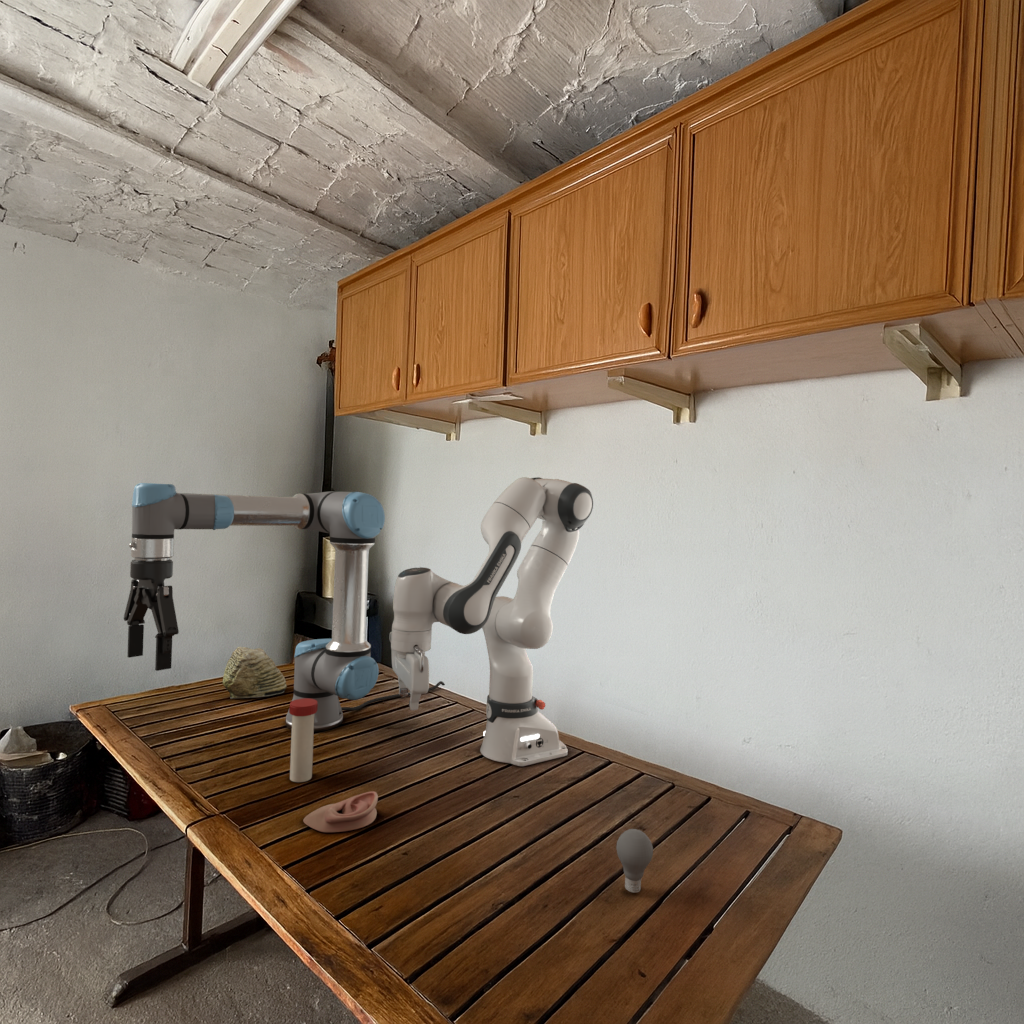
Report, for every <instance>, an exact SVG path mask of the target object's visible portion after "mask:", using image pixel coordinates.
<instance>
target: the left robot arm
mask: <svg viewBox="0 0 1024 1024" xmlns="http://www.w3.org/2000/svg"><path fill="white" fill-rule="evenodd" d="M385 515H386V513H385V511H384V508H383V505H382V503H381V502H380V501H379V500H378V498H377V497H375V495H373V494H370V493H367V492H363V491H362V492H361V491H337V490H336V491H335V490H333V491H332V490H330V491H321V492H311V493H295V494H294V495H293V496H276V495H275V496H274V495H273V496H272V495H248V494H247V495H246V494H244V495H243V494H220V493H219V494H218V493H217V494H216V493H215V494H214V493H189V492H187V493H186V492H177V491H176V486H175V485H174V484H173V483H152V482H139V483H137V484H136V485H135V486H134V488H133V492H132V501H131V520H132V521H131V542H130V543H128V547H129V548H130V549H131V550H130V556H131V558H133V559H132V560H131V561H130V567H129V568H130V571H129V574H130V575H129V576H130V578H131V581H130V590H129V594H128V598H127V603H126V607H125V610H124V615H123V621H124V622H126V624H127V626H128V629H127V630H128V631H127V658H135V657H142V656H144V635H145V634H144V630H145V625H144V624H145V623H146V621H145V619H144V618H145V616H146V615H147V612H148V609H149V610H151V613H152V618H153V620H154V624H155V627H156V631H157V633H156V635H155V636H154V638H155V661H154V663H155V665H154V668H155V669H154V670H155V671H157V672H159V671H164V670H169V669H172V659H173V657H172V655H173V637H175V636H176V635H179V632H180V631H179V625H178V619H177V615H176V614H177V613H176V609H175V603H174V597H173V595H174V593H173V585H165V580H167V579H171V578H172V577H173V575H174V573H173V572H174V561H173V560H172V559H171V558H173V557H174V554H175V553H174V552H175V530H213V531H215V530H224V529H228V528H230V526H233V527H234V526H237V527H238V526H240V527H243V526H246V527H247V526H249V527H250V526H258V527H259V526H268V527H269V526H276V527H277V526H282V527H284V526H285V527H286V526H287V527H288V526H289V527H290V526H291V527H293V528H294V529H296V530H308V531H309V530H310V531H316V532H319V533H325V534H329V544H330V545H331V546H332V547H333V548H334V550H335V551H334V572H333V573H334V577H333V599H332V625H331V626H332V627H331V638H317V639H308V640H304V641H300V642H299V643H297V645H296V646H295V650H294V655H293V657H294V672H293V673H294V674H293V695H292V696H293V697H292V699H291V701H293V700H297V699H303V698H309V699H314V700H317V704H318V708H317V712H316V713H315V714H314V733H316V732H325V731H329V730H332V729H335V728H337V727H339V726H340V725H342V723H343V722H344V714H343V711H344V712H345V711H349V712H354V711H358V710H360V709H362V708H364V707H365V706H367V705H370V704H372V703H375V702H380V701H385V700H390V699H397V698H402V697H401V696H400V695H399V693H396V694H390V695H385V696H380V697H376V698H372V699H370V700H366V701H364V702H363V703H361V704H360V705H357V706H341V702H340V699H339V698H341V699H342V700H343V699H344V700H348V701H349V700H350V701H357V700H360V699H362V698H364V697H365V696H367V695H368V694H370V692H371V690H372V689H374V687H375V685H376V683H377V682H378V678H379V674H380V672H379V671H380V670H379V669H380V668H379V665H378V663H377V662H376V660H375V659H374V657H371V652H372V649H371V648H372V644H371V643H370V642H368V640H367V639H366V631H367V607H368V606H367V605H368V604H367V602H368V582H369V581H368V579H369V555H370V553H369V552H370V550H371V548H372V547H374V545H375V544H376V536H378V535H379V534H380V533H381V530H383V528H384V526H385V522H386V521H385V520H386V516H385ZM445 685H446V684H445V682H444V681H442V680H440V681H438V682H437V683H436V684H435V685H434V686H432V687H431V686H430V687H429V689H428V692H431V691H433V690H436V689H437V688H438V687H440V686H445ZM408 696H411V695H410V691H408ZM408 696H407V697H408ZM285 726H286V728H287V729H289V730H291V729H292V715H291V714H290V713H289V709H288V711H287V713H286V715H285Z"/></svg>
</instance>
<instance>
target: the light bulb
mask: <svg viewBox="0 0 1024 1024" xmlns="http://www.w3.org/2000/svg"><path fill="white" fill-rule="evenodd" d="M615 849H616V854H617V857H618V859H619V861H620V863H621V865H622V867H623V873H624V874H623V875H624V876H625V878H624V888H625V890H627V891H628V892H630V893H634V894H635V893H639V892H640V891H641V889H642V887H641V886H642V879H643V877H644V875H645V871H646V868H647V867H648V866H649V864H650V863H651V861H652V859H653V855H654V847H653V843H652V841H651V838H649V836H648V835H647V834H646V833H645V832H643V831H642V830H641V829H636V828H629V829H627V830H625V831H623V832H622V833H621V834H620V835H619V837H618V839H617V841H616V847H615Z"/></svg>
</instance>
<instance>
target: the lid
mask: <svg viewBox="0 0 1024 1024" xmlns="http://www.w3.org/2000/svg"><path fill="white" fill-rule="evenodd" d="M317 708H318V704H317V700H314V699H309V698H303V699H297V700H293V701H292V700H291V701H290V702H289V708H288V710H289V713H290V714H291V715H294V716H308V715H312V714H315V713H316V712H317Z"/></svg>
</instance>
